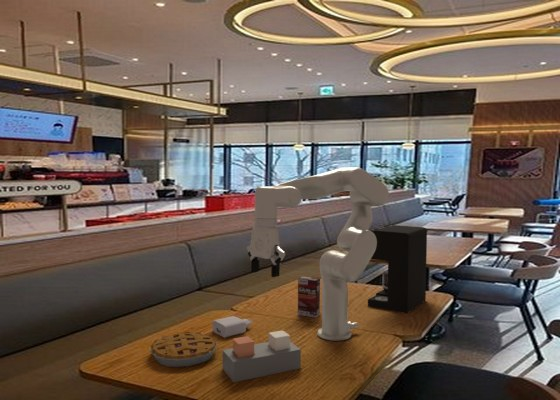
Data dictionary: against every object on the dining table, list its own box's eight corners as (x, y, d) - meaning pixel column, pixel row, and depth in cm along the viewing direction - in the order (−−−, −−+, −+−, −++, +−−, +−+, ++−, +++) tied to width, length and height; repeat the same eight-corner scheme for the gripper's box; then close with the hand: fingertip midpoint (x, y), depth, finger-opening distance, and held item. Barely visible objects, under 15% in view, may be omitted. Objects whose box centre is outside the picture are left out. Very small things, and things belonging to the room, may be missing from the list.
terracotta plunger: (248, 355, 142) (248, 336, 142) (254, 361, 138) (254, 341, 138) (232, 357, 140) (232, 338, 140) (238, 364, 136) (238, 344, 135)
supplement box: (297, 315, 194) (297, 278, 193) (301, 312, 199) (301, 276, 198) (316, 317, 191) (317, 280, 190) (320, 314, 195) (320, 277, 194)
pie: (155, 374, 138) (155, 358, 138) (146, 348, 158) (145, 334, 158) (225, 362, 147) (225, 347, 147) (208, 339, 167) (207, 326, 167)
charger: (258, 330, 177) (225, 338, 168) (245, 323, 184) (212, 331, 175) (258, 318, 177) (225, 326, 168) (245, 312, 184) (212, 319, 175)
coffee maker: (390, 292, 231) (391, 223, 229) (429, 298, 219) (430, 226, 217) (366, 305, 208) (367, 229, 206) (408, 313, 197) (409, 232, 194)
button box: (286, 356, 151) (286, 338, 151) (300, 368, 142) (300, 349, 142) (222, 368, 142) (222, 350, 141) (233, 382, 133) (233, 362, 132)
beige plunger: (282, 348, 148) (282, 330, 147) (289, 354, 143) (289, 335, 143) (268, 351, 145) (268, 332, 145) (275, 357, 141) (275, 337, 141)
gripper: (240, 222, 156) (239, 271, 157) (276, 226, 144) (275, 280, 145) (256, 220, 162) (255, 268, 163) (292, 224, 150) (291, 276, 151)
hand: (265, 274), depth 154 cm, fingers open, 9 cm apart
